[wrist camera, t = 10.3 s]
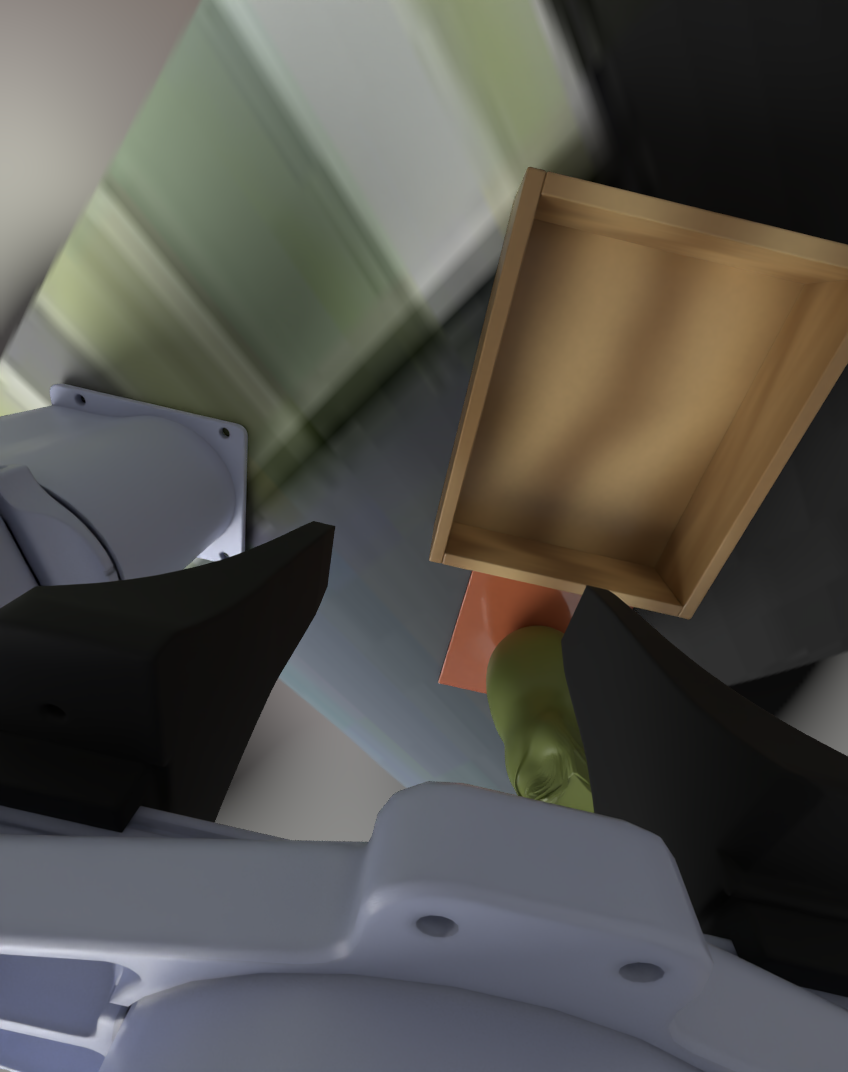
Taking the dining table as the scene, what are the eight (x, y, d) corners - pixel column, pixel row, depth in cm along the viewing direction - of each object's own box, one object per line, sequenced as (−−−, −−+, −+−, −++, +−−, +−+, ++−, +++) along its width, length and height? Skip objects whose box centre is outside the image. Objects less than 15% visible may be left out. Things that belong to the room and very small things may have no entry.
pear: (466, 634, 26) (468, 804, 17) (545, 589, 24) (595, 753, 15) (520, 693, 27) (547, 875, 18) (597, 655, 25) (670, 838, 17)
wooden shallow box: (433, 525, 23) (428, 561, 20) (514, 196, 17) (527, 165, 13) (657, 576, 23) (690, 620, 20) (822, 271, 17) (912, 259, 13)
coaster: (438, 678, 28) (438, 683, 27) (475, 558, 24) (475, 562, 23) (575, 708, 28) (577, 714, 28) (635, 594, 24) (638, 599, 24)
